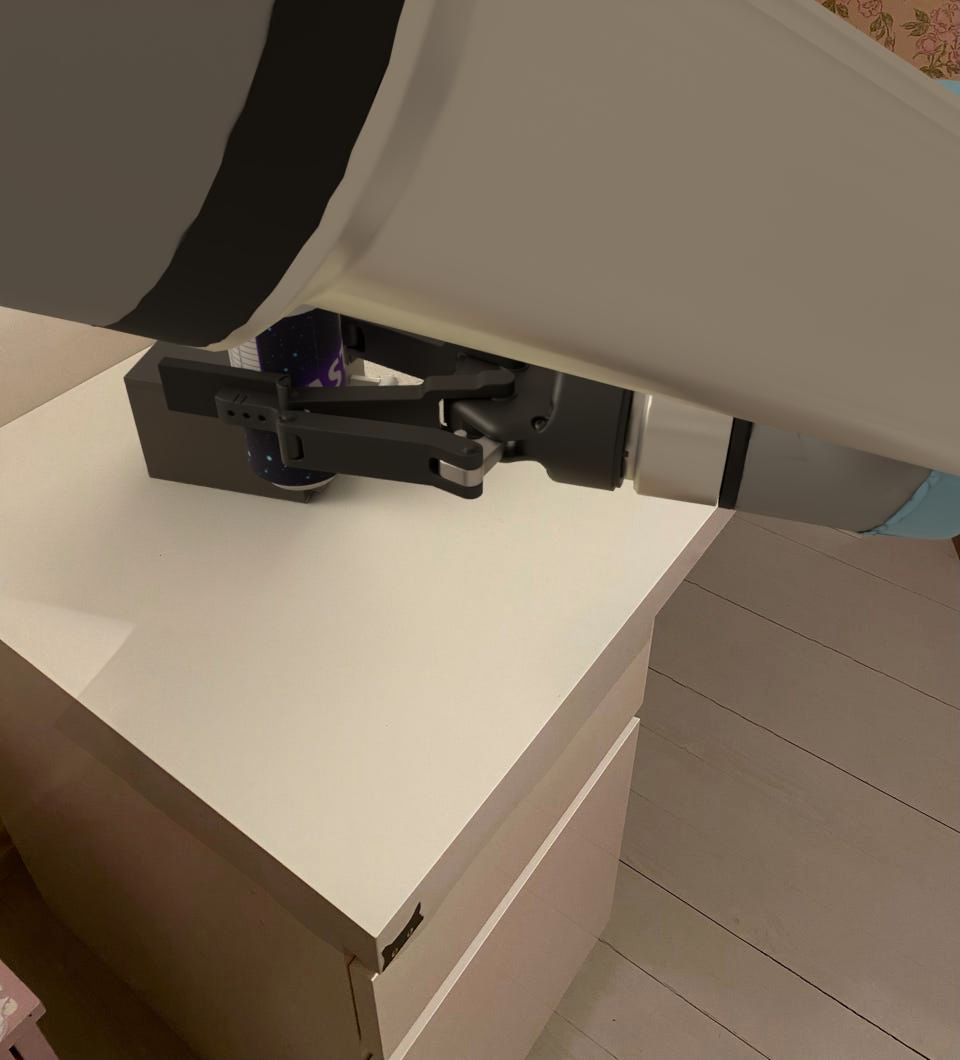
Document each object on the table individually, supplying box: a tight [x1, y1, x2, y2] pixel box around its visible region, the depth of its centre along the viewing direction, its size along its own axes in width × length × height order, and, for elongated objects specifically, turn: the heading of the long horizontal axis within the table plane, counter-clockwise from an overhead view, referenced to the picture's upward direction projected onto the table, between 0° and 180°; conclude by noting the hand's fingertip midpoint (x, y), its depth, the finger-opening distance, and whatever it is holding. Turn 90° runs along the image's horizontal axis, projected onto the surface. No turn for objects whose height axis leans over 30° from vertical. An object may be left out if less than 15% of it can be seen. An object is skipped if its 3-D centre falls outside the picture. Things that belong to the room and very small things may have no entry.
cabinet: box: [122, 340, 313, 504], centre depth 85 cm, size 14×13×10 cm
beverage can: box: [228, 304, 347, 490], centre depth 54 cm, size 6×6×12 cm
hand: (195, 351), depth 54 cm, fingers closed on beverage can, 6 cm apart
